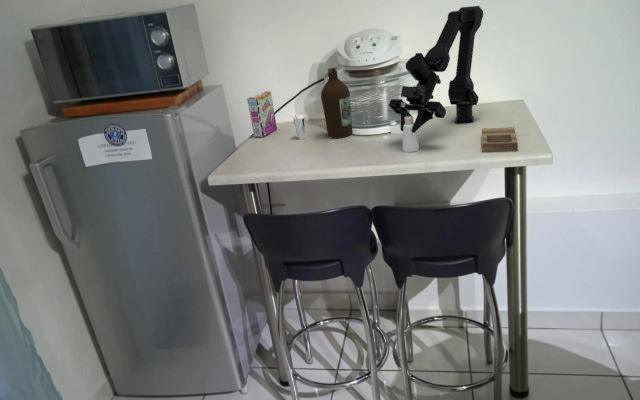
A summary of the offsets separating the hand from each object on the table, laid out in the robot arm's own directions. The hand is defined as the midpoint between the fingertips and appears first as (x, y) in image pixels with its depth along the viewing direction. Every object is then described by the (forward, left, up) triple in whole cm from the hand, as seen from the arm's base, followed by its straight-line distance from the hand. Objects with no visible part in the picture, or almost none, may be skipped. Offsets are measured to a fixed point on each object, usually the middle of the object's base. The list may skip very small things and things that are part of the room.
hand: (407, 131), depth 156 cm
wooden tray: (-4, +28, -7) cm, 29 cm away
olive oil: (-21, -28, -7) cm, 36 cm away
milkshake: (-19, -43, -7) cm, 48 cm away
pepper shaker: (-1, +1, -7) cm, 7 cm away
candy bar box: (-28, -62, -7) cm, 68 cm away
